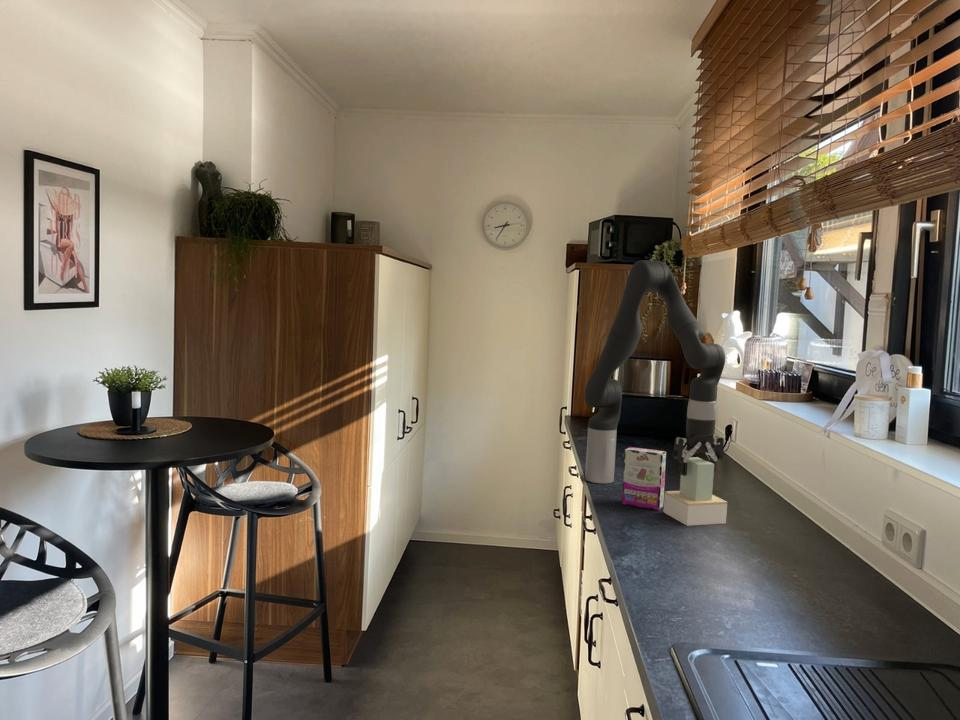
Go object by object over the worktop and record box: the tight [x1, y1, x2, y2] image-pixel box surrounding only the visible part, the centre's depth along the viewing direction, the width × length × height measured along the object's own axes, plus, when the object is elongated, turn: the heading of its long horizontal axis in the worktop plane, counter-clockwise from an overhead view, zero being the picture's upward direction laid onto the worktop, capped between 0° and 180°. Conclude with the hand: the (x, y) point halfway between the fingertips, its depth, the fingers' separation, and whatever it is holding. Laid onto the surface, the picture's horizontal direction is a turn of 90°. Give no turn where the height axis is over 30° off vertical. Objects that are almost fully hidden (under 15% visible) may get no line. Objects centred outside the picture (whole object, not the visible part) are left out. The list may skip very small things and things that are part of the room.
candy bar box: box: [621, 446, 667, 511], centre depth 212 cm, size 11×5×16 cm, turn 62°
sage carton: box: [679, 456, 715, 501], centre depth 202 cm, size 8×5×10 cm, turn 16°
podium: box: [663, 490, 728, 527], centre depth 203 cm, size 12×12×6 cm
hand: (696, 474), depth 202 cm, fingers open, 8 cm apart
